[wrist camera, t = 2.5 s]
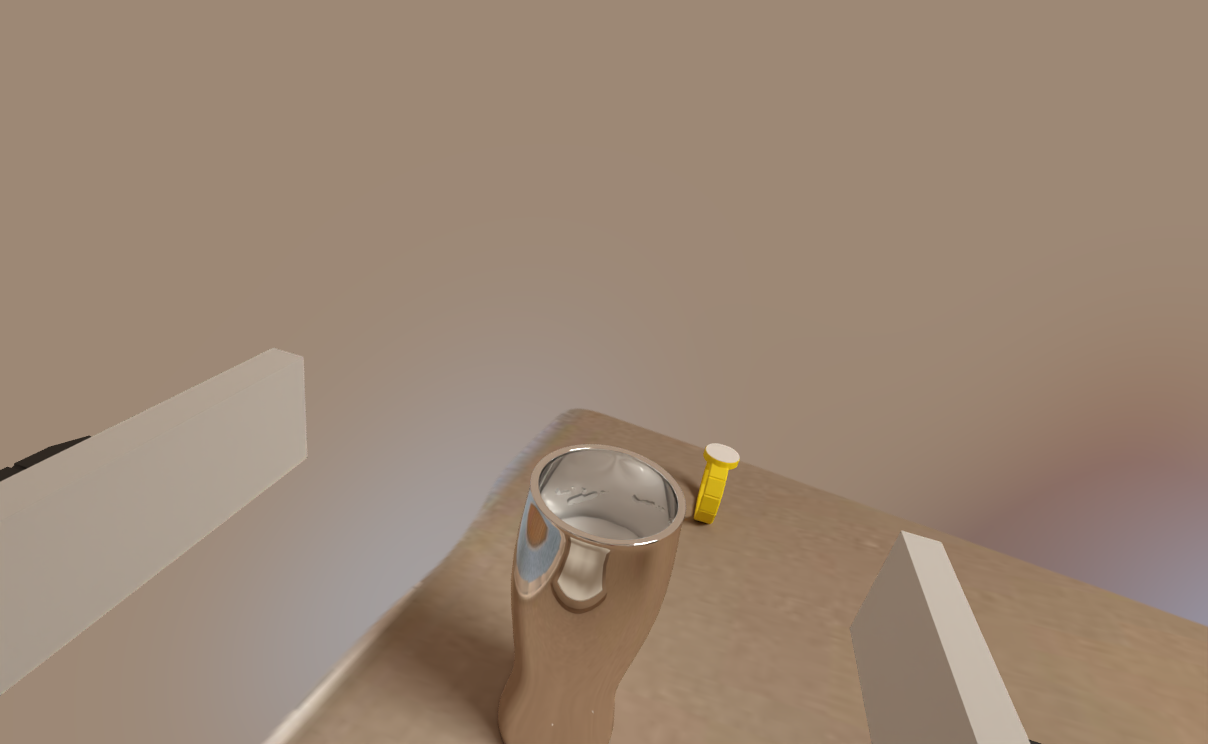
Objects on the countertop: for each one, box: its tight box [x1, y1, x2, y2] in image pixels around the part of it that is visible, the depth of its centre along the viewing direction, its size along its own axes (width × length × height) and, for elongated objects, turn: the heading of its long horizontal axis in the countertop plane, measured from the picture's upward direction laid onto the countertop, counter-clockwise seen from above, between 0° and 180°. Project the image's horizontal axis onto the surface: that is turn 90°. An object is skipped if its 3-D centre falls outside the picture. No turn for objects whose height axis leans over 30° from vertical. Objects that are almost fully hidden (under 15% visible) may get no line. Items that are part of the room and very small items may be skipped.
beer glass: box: [498, 444, 686, 744], centre depth 28 cm, size 7×7×15 cm
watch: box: [694, 444, 740, 524], centre depth 48 cm, size 6×3×6 cm, turn 166°
